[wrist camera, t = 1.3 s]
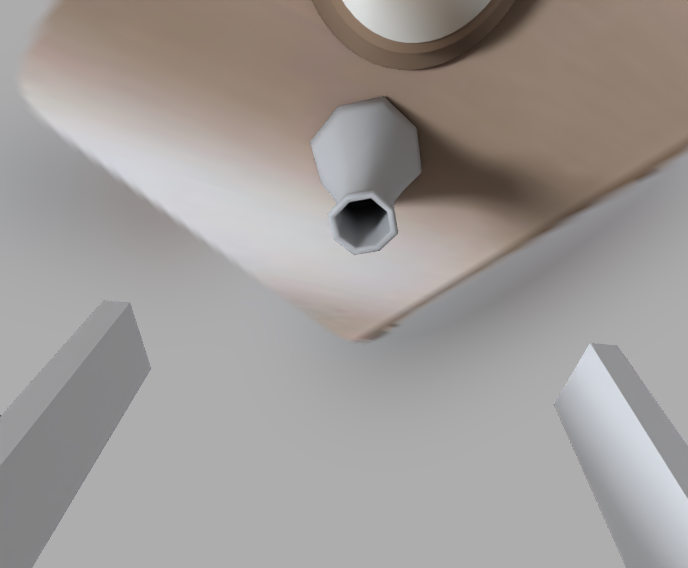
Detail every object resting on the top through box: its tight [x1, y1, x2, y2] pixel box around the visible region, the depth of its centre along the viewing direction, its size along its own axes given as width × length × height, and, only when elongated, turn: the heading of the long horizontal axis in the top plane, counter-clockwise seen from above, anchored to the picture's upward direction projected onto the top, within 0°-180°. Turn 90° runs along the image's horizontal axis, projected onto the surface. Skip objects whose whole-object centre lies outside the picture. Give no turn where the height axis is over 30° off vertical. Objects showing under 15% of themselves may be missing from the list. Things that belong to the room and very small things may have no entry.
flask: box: [310, 96, 422, 255], centre depth 23 cm, size 7×7×10 cm
